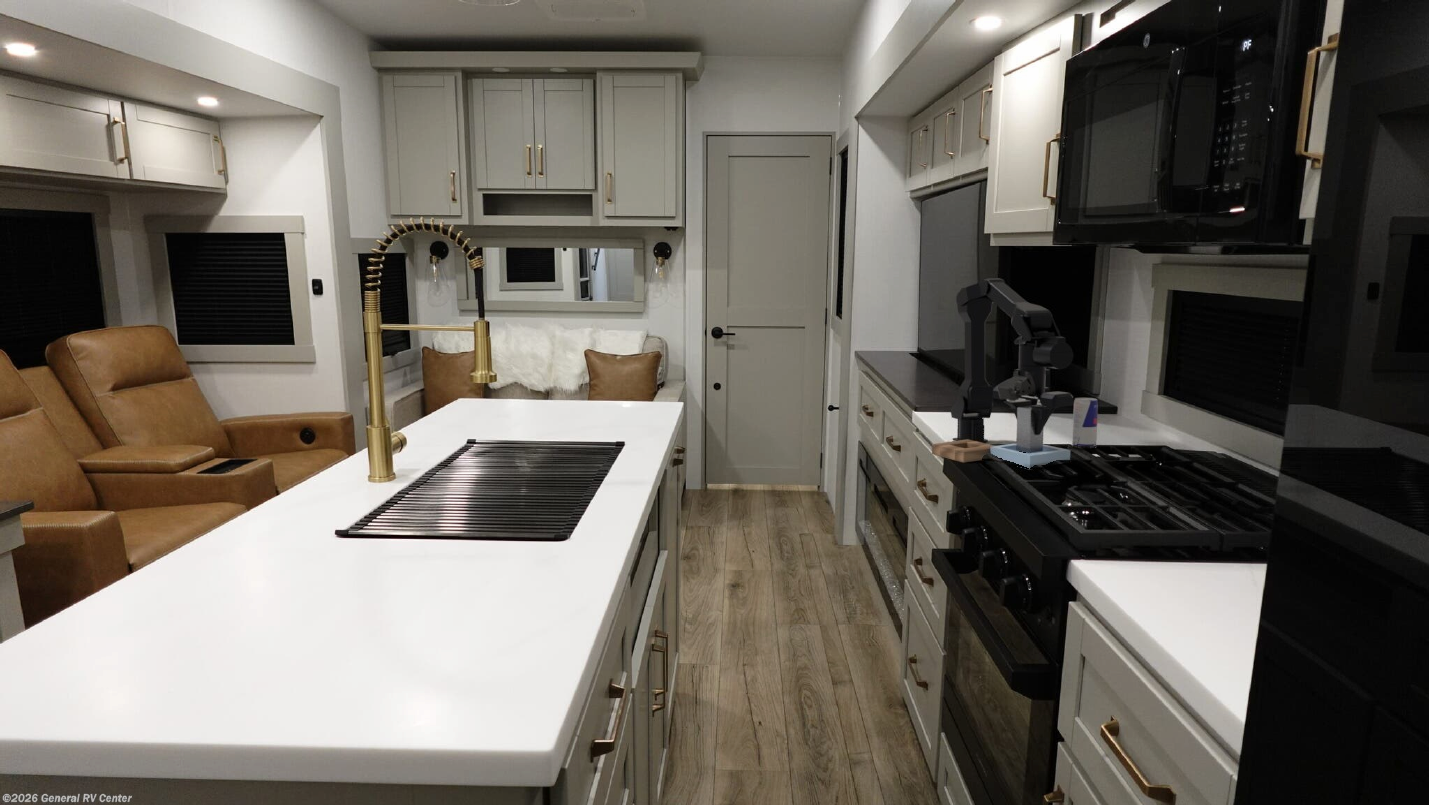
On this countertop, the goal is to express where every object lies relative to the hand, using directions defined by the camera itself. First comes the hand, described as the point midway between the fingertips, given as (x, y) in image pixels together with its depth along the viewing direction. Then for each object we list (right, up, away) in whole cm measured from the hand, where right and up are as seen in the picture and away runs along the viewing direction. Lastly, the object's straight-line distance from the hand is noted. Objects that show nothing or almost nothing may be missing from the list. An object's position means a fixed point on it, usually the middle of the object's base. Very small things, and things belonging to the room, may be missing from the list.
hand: (1030, 433), depth 180 cm
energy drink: (+19, -4, +15) cm, 24 cm away
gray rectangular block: (0, -4, +1) cm, 4 cm away
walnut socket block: (-12, -6, +9) cm, 16 cm away
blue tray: (0, -6, +1) cm, 7 cm away
